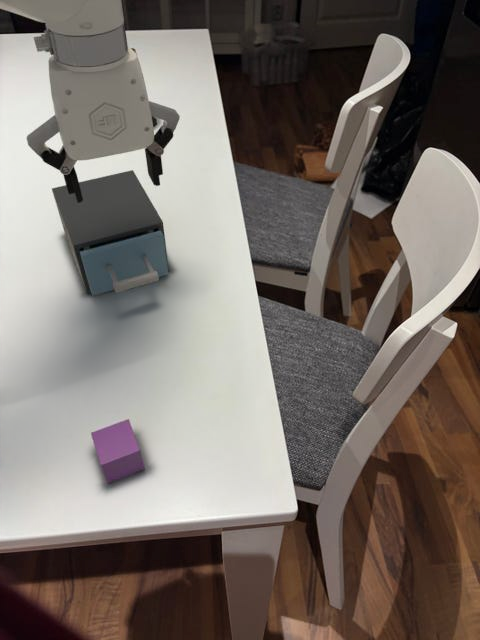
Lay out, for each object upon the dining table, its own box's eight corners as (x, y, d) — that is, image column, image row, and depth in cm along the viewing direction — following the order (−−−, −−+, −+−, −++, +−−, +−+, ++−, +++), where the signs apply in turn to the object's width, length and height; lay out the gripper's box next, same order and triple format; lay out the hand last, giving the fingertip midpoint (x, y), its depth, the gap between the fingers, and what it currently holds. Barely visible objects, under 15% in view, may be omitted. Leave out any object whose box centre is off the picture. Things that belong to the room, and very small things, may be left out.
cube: (107, 483, 57) (100, 465, 54) (98, 451, 60) (90, 432, 56) (145, 469, 58) (140, 450, 55) (134, 438, 61) (128, 418, 58)
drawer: (180, 296, 75) (176, 257, 70) (101, 320, 72) (91, 281, 67) (141, 223, 87) (135, 184, 81) (72, 241, 83) (60, 202, 78)
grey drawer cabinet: (169, 270, 80) (163, 221, 74) (86, 294, 77) (72, 245, 70) (140, 217, 89) (132, 169, 82) (65, 236, 86) (51, 188, 79)
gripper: (3, 69, 49) (51, 220, 61) (182, 44, 53) (192, 189, 66) (-4, 41, 53) (41, 186, 66) (161, 19, 58) (174, 160, 70)
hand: (117, 188), depth 66 cm, fingers open, 9 cm apart
